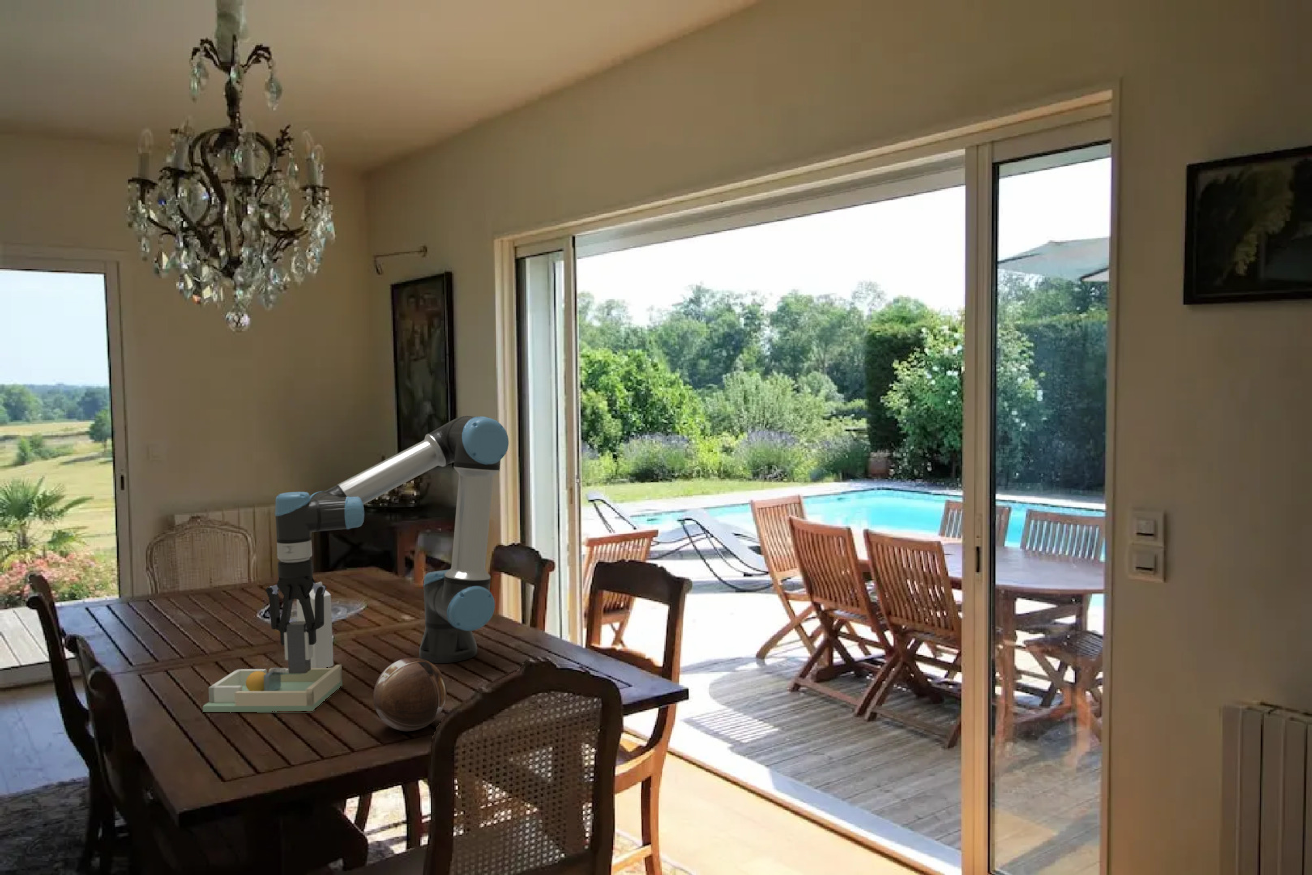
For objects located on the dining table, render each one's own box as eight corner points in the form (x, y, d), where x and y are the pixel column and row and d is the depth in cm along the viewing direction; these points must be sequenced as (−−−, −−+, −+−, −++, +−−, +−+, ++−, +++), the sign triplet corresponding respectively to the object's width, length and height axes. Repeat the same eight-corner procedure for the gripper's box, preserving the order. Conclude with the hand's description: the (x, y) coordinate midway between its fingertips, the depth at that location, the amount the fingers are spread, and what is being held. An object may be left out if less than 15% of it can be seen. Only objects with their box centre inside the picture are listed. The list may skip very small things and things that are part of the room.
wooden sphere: (359, 733, 195) (356, 662, 194) (414, 711, 208) (412, 645, 207) (408, 747, 187) (405, 674, 186) (462, 724, 199) (460, 655, 199)
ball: (261, 663, 220) (247, 678, 220) (251, 670, 215) (237, 685, 215) (277, 678, 220) (263, 693, 220) (267, 685, 215) (253, 700, 215)
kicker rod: (314, 686, 220) (311, 619, 219) (303, 694, 214) (300, 626, 213) (275, 686, 221) (272, 619, 220) (264, 695, 215) (261, 626, 214)
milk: (299, 669, 240) (295, 585, 239) (317, 662, 246) (313, 580, 244) (316, 672, 238) (312, 587, 236) (334, 665, 243) (330, 582, 242)
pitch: (342, 685, 226) (341, 664, 226) (312, 712, 208) (311, 688, 208) (241, 686, 227) (240, 665, 227) (202, 712, 209) (201, 689, 209)
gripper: (251, 562, 212) (255, 663, 213) (325, 561, 212) (329, 662, 213) (265, 556, 220) (270, 653, 221) (337, 555, 219) (341, 653, 221)
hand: (299, 658), depth 217 cm, fingers closed on kicker rod, 4 cm apart
